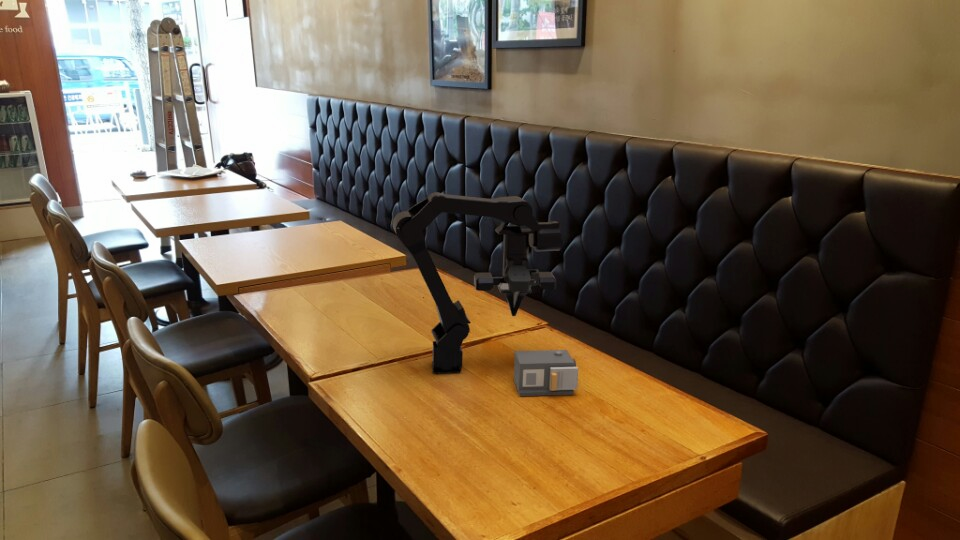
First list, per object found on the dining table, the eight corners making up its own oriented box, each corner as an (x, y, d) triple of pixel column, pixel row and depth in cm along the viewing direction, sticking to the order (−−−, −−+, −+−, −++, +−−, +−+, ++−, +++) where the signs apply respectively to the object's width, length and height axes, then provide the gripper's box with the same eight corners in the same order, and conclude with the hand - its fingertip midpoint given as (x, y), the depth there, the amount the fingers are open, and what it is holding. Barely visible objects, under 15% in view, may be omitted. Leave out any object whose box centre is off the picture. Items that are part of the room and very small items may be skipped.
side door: (551, 392, 145) (552, 371, 144) (549, 388, 147) (550, 367, 146) (578, 391, 146) (579, 370, 145) (575, 387, 148) (577, 366, 147)
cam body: (519, 396, 146) (520, 363, 144) (513, 379, 154) (514, 348, 152) (579, 394, 148) (582, 362, 145) (571, 377, 156) (572, 347, 153)
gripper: (479, 261, 147) (477, 328, 151) (563, 261, 149) (559, 327, 153) (474, 248, 157) (473, 311, 162) (552, 248, 159) (549, 310, 164)
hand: (513, 315), depth 160 cm, fingers closed
